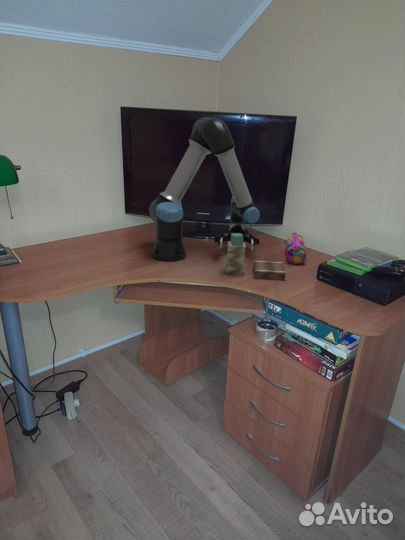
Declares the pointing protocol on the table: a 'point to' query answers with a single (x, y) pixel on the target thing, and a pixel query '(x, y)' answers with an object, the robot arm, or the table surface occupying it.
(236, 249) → the wooden block tower
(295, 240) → the pencil case
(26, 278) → the table surface
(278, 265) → the dock
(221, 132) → the robot arm
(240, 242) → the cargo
